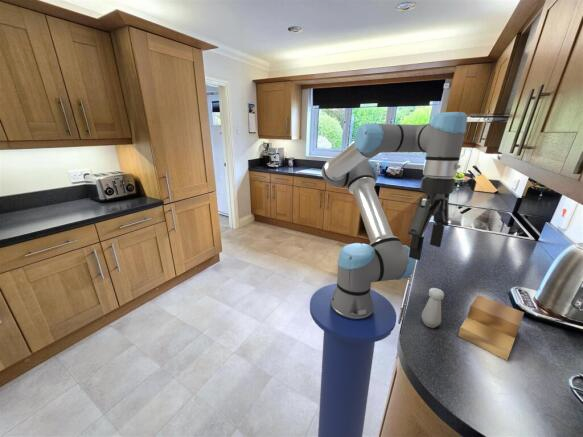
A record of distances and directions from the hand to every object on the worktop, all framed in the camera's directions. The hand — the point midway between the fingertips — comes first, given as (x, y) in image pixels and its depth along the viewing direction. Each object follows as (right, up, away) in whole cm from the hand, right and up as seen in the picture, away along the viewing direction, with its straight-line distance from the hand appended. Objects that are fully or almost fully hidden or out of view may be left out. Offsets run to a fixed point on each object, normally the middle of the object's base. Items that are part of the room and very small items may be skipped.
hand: (425, 251), depth 69 cm
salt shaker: (+9, -26, +13) cm, 31 cm away
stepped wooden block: (+25, -28, +8) cm, 38 cm away
